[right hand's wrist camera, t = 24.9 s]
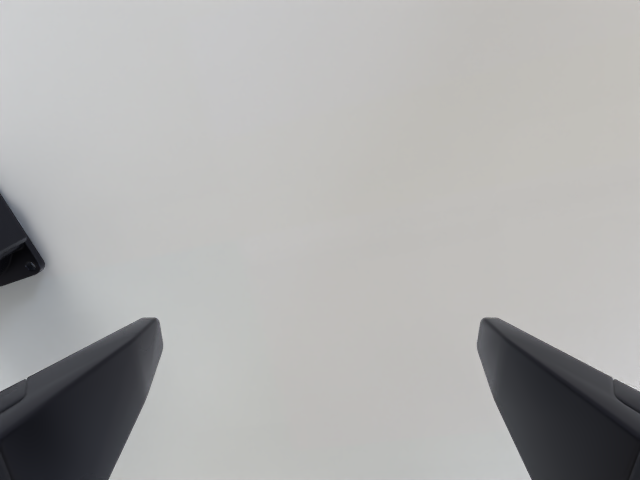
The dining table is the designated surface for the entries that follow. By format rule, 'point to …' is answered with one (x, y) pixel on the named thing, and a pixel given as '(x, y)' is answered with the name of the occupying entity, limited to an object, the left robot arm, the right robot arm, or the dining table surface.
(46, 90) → the dining table surface
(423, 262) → the dining table surface
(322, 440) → the dining table surface
